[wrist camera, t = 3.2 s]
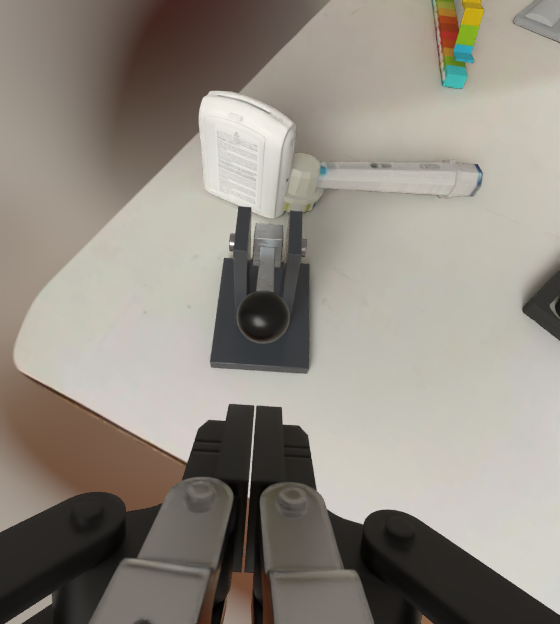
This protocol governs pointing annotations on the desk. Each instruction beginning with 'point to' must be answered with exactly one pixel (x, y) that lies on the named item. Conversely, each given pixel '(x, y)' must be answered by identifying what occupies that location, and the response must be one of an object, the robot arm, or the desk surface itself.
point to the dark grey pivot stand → (243, 280)
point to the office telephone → (541, 18)
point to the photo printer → (246, 151)
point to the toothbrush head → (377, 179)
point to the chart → (456, 38)
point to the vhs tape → (547, 306)
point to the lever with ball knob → (264, 290)
